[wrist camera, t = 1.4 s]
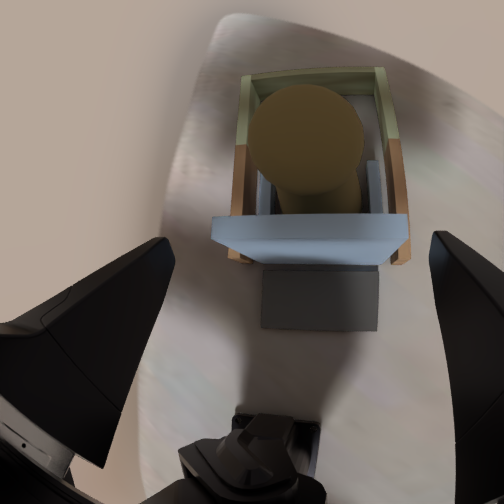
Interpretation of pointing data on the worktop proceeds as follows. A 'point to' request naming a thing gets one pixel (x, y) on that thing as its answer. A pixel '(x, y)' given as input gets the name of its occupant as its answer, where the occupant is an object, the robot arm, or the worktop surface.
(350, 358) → the worktop surface
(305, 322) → the pit mat
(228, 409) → the worktop surface
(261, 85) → the track
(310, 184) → the cork
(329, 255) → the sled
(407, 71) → the worktop surface
